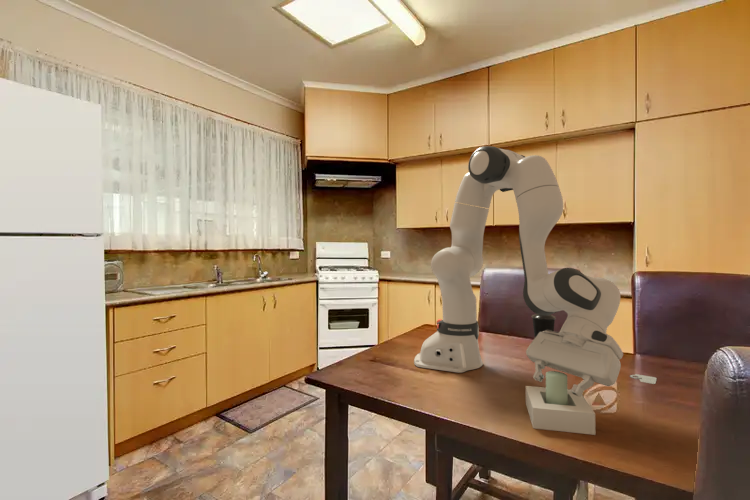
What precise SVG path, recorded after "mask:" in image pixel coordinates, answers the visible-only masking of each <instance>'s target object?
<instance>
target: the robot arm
mask: <svg viewBox="0 0 750 500" xmlns="http://www.w3.org/2000/svg"><path fill="white" fill-rule="evenodd" d="M467 169H468V172H467V173H465V174H464V175H463V178H462V180H461V181H460V185H459V187H458V188H457V189H458V190H457V192H456V196H455V200H454V203H453V209H452V213H451V219H450V223H449V228H450V229H449V230H450V232H451V246H450V247H444V248H442V249H441V250H439V251H437V252H436V253H435V254H434V255H433V256H432V258H431V262H430V269H431V272H432V274H433V276H435V277H436V279H437V283H438V285H439V290H440V293H441V300H442V301H441V304H442V318H438V319H437V320H436V331H435V332H434V333H433V334H432V335H429V336H428V337H427V338H426V339H425V340H424V341H423V343H422V345H421V348H420V352H419V353H417V354H416V355H415V357H414V359H413V363H414V365H415V366H416V367H418V368H423V369H432V370H439V371H445V372H452V373H459V374H462V373H465V372H468V371H471V370H476V369H479V368H481V367H482V366H483V364H484V363H483V359H482V356H481V352H480V347H479V335H480V333H479V331H480V330H479V329H480V328H479V327H480V326H479V321H478V318H477V315H478V312H477V310H478V309H477V297H476V294H475V293H474V291H473V287H472V282H471V278H472V277H474V276H476V275H477V274H478V273H479V272H480V271H481V270H482V268H483V266H484V257H483V251H484V250H483V249H484V233H485V228H486V225H487V220H488V216H489V211H490V207H491V203H492V202H491V201H492V198H493V195H494V194H495V193H496V192H497V191H500V192H502V193H505V192H509V191H513V193H514V198H515V202H516V206H517V211H518V213H517V214H518V221H519V225H518V227H519V228H518V240H519V241H518V242H519V248H520V256H521V263H522V267H523V275H524V285H523V293H522V294H523V299H524V302H525V304H526V306H527V308H528V309H529V310H530V311H531V312H533V314H539V315H542V316H547V315H554V314H555V313H558V312H561V311H564V312H565V313H566V314H567V317H566V319H565V321H564V323H563V324H562V326H561V329H560V330H559V331H554V332H553V331H550V330H545V331H542V332H539V333H538V335H537V336H536V337H534V338H533V339H532V341H531V342H530V343H529V346H527V349H526V350H525V354H526V356H527V357H528V359H529V360H530V361H531V362H532V363H534V368H535V372H534V374H533V375H532V377H533V379H534V380H535V382H536V381H537V382H539V383H543V380H544V379H545V378H546V375H544V374H543V370H545V368H546V367H547V368H551V369H553V370H556V371H558V372H562V373H564V374H568V375H572V376H574V377H575V376H576V377H578V378H582V381H581V382H579V383H578V384H575V383H574V384H573V385H572V387H571V392H572V393H573V394H574V395H577V396H579V397H581V395H583V393H584V391H586V390H588V389H590V388H592V387H593V385H594V383H597V384H600V385H603V386H605V387H611V386H612V385H614V384H616V382H617V380H618V377H619V374H620V371H621V366H622V365H621V361H620V360H621V359H622V358H623V356H624V352H623V350H622V348H621V347H620V345H619V344H618V342H617V341H616V340H615V338H614V337H613V336H611V335H610V334H608V333H607V330H608V328H609V326H610V325H611V324H612V323H613V321H614V319H615V317H616V315H617V312H618V310H619V308H620V307H619V306H620V303H621V291H620V289H619V287H618V286H617V285H616V284H614V282H612V281H611V280H609V279H608V278H604V277H598V276H597V277H593V276H589V275H586V274H584V273H583V272H582V271H580V270H579V269H576V268H572V267H564V268H561V269H558V270H556V271H553V272H550V273H549V270H548V262H547V257H546V250H545V244H546V241H547V238H548V237H549V235H550V233H551V231H552V230H553V228H554V227H555V226H556V224H558V222H559V221H560V219H561V217H562V215H563V212H564V201H563V200H564V199H563V196H562V195H563V194H562V192H561V189H560V186H559V183H558V180H557V178H556V175H555V173H554V171H553V169H552V167H551V166H550V164H549V162H548V160H547V159H546V158H545V157H543V156H542V155H541V156H540V155H533V154H532V155H528V156H526V155H523V154H519V153H518V152H515V151H512V150H510V149H503V148H501V147H500V148H499V147H496V146H494V145H493V146H492V145H491V146H490V145H484V146H480V147H478V148H476V150H474V152H472V154H471V156H470V158H469V160H468V167H467Z"/></svg>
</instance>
